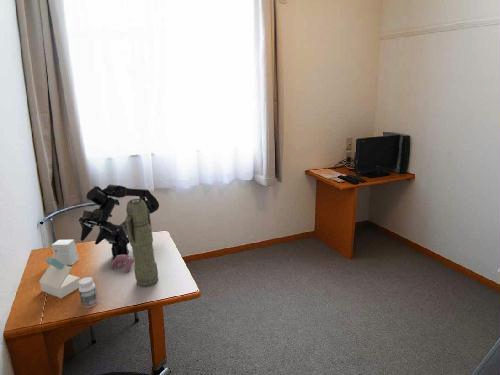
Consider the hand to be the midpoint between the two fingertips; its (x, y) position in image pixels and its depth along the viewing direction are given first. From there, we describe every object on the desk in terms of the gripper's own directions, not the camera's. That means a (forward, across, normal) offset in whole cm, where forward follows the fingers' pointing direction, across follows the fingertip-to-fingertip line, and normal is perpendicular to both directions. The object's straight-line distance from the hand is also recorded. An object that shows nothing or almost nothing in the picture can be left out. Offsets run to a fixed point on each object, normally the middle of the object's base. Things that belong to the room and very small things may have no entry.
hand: (88, 242), depth 151 cm
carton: (+21, 0, -1) cm, 21 cm away
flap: (+16, 0, -7) cm, 18 cm away
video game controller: (+5, +10, +15) cm, 19 cm away
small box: (+10, -18, +10) cm, 23 cm away
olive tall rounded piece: (+8, +29, +12) cm, 32 cm away
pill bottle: (+22, +20, -3) cm, 30 cm away
